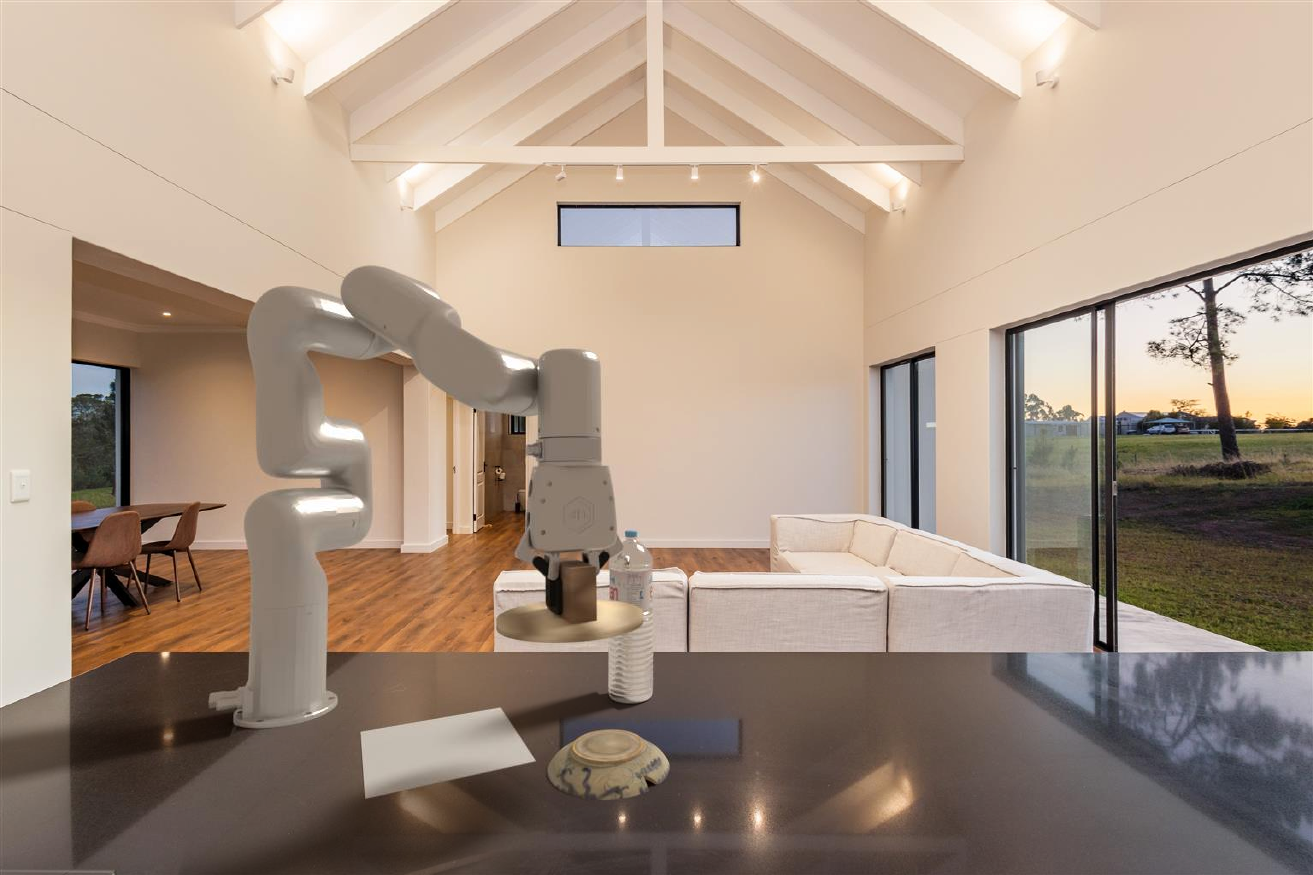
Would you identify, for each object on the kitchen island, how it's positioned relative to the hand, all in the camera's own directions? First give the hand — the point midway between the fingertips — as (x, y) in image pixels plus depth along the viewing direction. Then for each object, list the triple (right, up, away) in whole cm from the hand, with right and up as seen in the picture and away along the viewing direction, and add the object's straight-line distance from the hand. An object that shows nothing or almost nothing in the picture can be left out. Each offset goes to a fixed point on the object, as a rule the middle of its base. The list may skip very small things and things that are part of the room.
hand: (571, 609), depth 73 cm
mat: (-16, -18, +3) cm, 25 cm away
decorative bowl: (+4, -19, -2) cm, 19 cm away
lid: (0, -2, 0) cm, 2 cm away
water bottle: (+6, -19, +21) cm, 29 cm away
